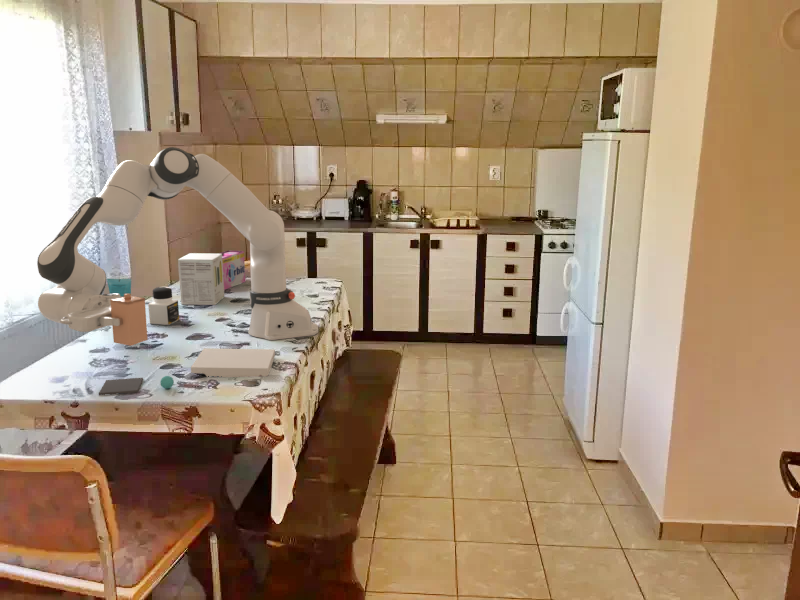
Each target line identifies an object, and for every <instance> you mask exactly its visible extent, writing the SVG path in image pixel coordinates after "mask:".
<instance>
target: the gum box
mask: <svg viewBox="0 0 800 600" xmlns="http://www.w3.org/2000/svg"><path fill="white" fill-rule="evenodd" d="M217 254H222V263H223V280H224V291H225V290H227V289H228V290H229V289H230V288H233V287H236V286H238V285H240V284H243V283H246V282H247V281H246V266H245V251H243V250H232V249H231V250H225V251H221V252H219V253H218V252H217Z"/></svg>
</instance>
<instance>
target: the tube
mask: <svg viewBox="0 0 800 600" xmlns="http://www.w3.org/2000/svg"><path fill="white" fill-rule="evenodd" d="M106 284H107V287H108V291H109V293H108V294H113V293H116V294H120V297H123V296H124V294H127V293H129V294H131V295H132V278H106Z"/></svg>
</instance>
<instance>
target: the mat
mask: <svg viewBox="0 0 800 600" xmlns="http://www.w3.org/2000/svg"><path fill="white" fill-rule="evenodd" d="M143 382H144V377H135V378H134V377H133V378H132V377H131V378H118V379H117V378H116V379H106V380H105V381H104V383H103V384H102V387H101V389H100V390H99V392H98V396H106V395H105V394H110V395H117V394H116V393H124V394H137V393H138V392H139V391H140V388H141V387H142V383H143Z"/></svg>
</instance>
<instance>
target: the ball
mask: <svg viewBox="0 0 800 600" xmlns="http://www.w3.org/2000/svg"><path fill="white" fill-rule="evenodd" d="M174 381H175V380H174V378H173V377H172V376H170V375H165V376H163V377H162V378H161V379H160V385H161V387H162V388H163V389H166V390H167V389H168V390H169V389H170V388H172V387H173V386H174V384H175V382H174Z"/></svg>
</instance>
